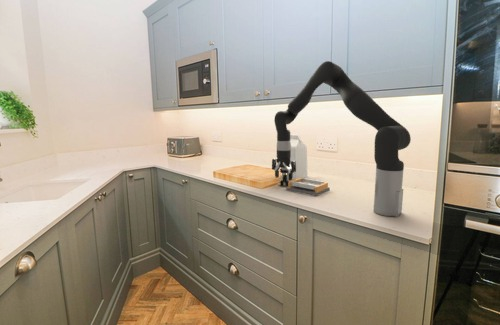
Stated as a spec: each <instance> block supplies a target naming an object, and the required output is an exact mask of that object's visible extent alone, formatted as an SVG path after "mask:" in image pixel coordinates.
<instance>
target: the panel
mask: <svg viewBox="0 0 500 325" xmlns="http://www.w3.org/2000/svg"><path fill="white" fill-rule="evenodd" d="M292 181H293V182H300V181H301V178H299V179H296V180H293V179H292V180H289V182H288V186H286V188H285V190H286V191H288V192H293V193H299V194H303V195H307V196H308V195H309V196H314V197H318V196H319V195H322V194H324V193H326V192H329V191H330V189H331V188H330V187H328V186H329V182H325V183H323V184H321V185H318V186H316V187H315V190H313V189H307V188H302V187H297V186H291V182H292Z"/></svg>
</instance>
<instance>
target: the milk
mask: <svg viewBox="0 0 500 325" xmlns="http://www.w3.org/2000/svg"><path fill="white" fill-rule="evenodd" d="M300 137H301V136H300V135H299V134H290V142H291V158H290V160H291V161H296V172H293V179H292V181H293V180H296V179H299V178H305V179H306V178H308V174H309V172H308V156H307V155H308V151H307V146H306V144H305V142H303V141H302V140H301V138H300ZM290 166H291V163H290Z"/></svg>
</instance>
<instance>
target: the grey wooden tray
mask: <svg viewBox="0 0 500 325" xmlns="http://www.w3.org/2000/svg"><path fill="white" fill-rule="evenodd" d="M291 181H292V182H291V186H297V187H302V188H307V189H313V190H315V187H316V186H318V185H321V184H323V183H326V182H325V181H323V180H316V179H311V178H306V177H305V178H301V181H300V182H293V180H291Z"/></svg>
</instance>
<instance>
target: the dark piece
mask: <svg viewBox="0 0 500 325" xmlns="http://www.w3.org/2000/svg"><path fill="white" fill-rule="evenodd" d="M279 173H280V174H281V173H282V177H281V179H280V182H277V184H278V185H279V186H281V187H284V186H285V187H288V182H290V180H288V173H289V172H288V170H286V168H280V169H279ZM286 173H287V175H286Z"/></svg>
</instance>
